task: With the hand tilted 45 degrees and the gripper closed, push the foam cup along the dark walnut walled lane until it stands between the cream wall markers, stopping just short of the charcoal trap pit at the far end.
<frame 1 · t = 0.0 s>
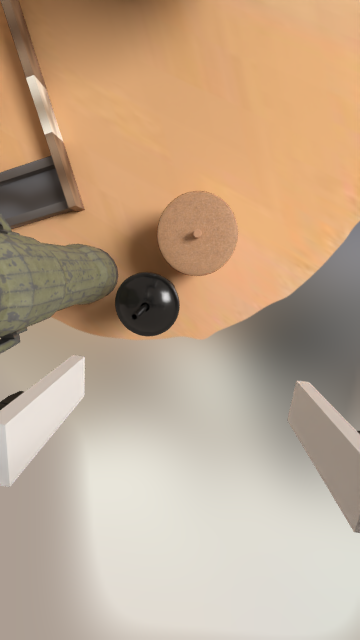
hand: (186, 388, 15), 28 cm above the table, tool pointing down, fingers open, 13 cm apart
drinking cup: (161, 291, 42), on the table
lidded jar: (196, 240, 40), on the table
thermos: (93, 273, 42), on the table
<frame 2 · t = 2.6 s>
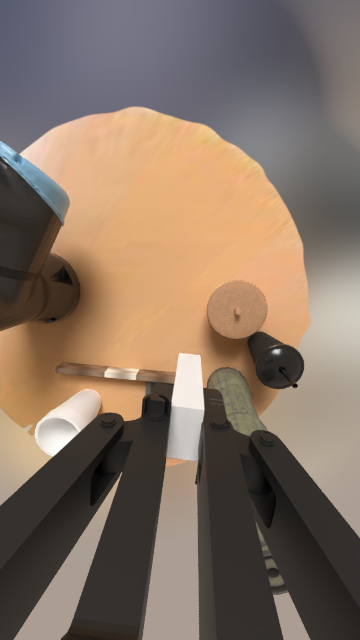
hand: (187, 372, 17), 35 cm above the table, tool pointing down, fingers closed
drinking cup: (258, 342, 53), on the table
lidded jar: (231, 304, 52), on the table
lane: (121, 404, 58), on the table
foam cup: (89, 400, 59), on the table
thermos: (225, 384, 55), on the table
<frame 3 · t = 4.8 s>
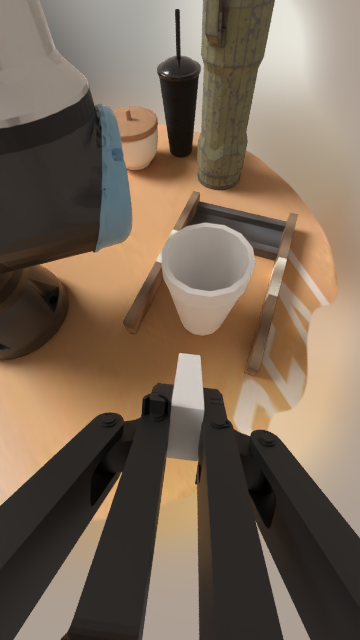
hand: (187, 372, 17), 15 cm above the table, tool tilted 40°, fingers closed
drinking cup: (180, 151, 55), on the table
lidded jar: (136, 162, 54), on the table
lane: (217, 274, 39), on the table
foam cup: (201, 316, 36), on the table
thermos: (218, 177, 51), on the table
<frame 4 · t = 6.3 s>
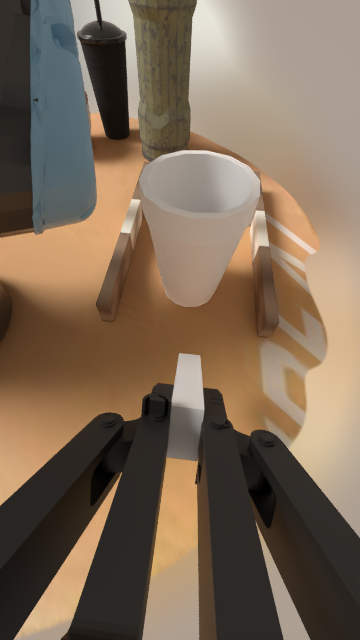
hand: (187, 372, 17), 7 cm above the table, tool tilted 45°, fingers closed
drinking cup: (117, 135, 50), on the table
lane: (194, 242, 34), on the table
foam cup: (189, 287, 30), on the table
thermos: (165, 154, 47), on the table
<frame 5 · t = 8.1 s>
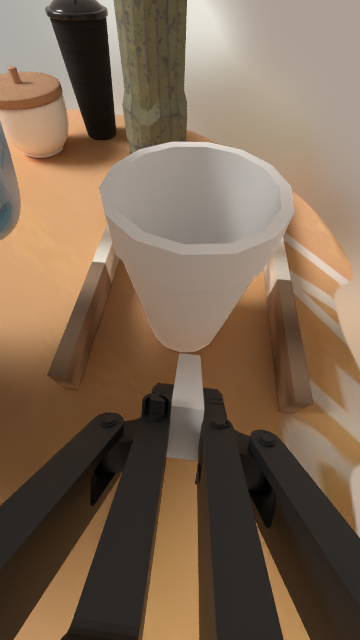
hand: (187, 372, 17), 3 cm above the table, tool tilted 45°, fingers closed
drinking cup: (102, 134, 43), on the table
lidded jar: (44, 150, 40), on the table
lane: (190, 269, 27), on the table
foam cup: (184, 323, 23), on the table, touching gripper
thermos: (157, 156, 40), on the table
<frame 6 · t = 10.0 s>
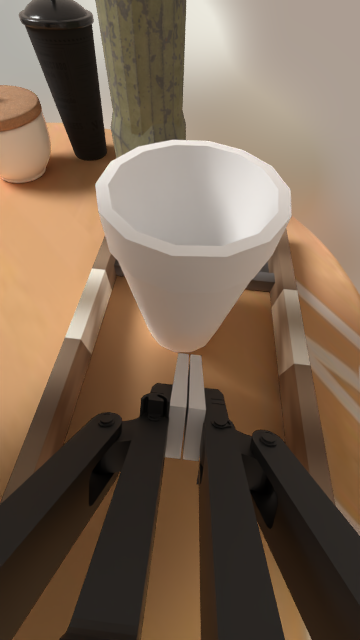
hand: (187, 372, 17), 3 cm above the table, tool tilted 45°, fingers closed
drinking cup: (91, 153, 38), on the table
lidded jar: (24, 172, 35), on the table
lane: (187, 334, 22), on the table
foam cup: (182, 322, 23), on the table, touching gripper, lane
thermos: (152, 181, 35), on the table
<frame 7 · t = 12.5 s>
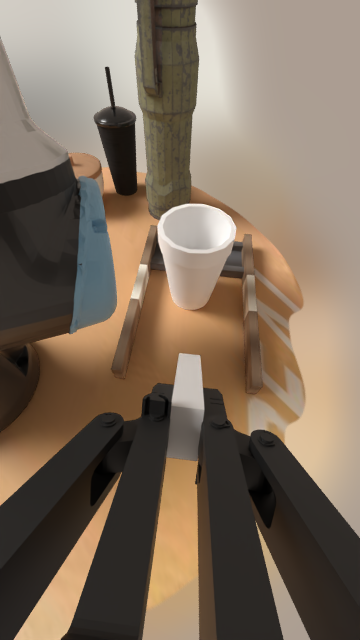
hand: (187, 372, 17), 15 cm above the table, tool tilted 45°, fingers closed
drinking cup: (126, 190, 56), on the table
lidded jar: (84, 204, 53), on the table
lane: (193, 300, 40), on the table
foam cup: (190, 295, 40), on the table
thermos: (168, 210, 53), on the table
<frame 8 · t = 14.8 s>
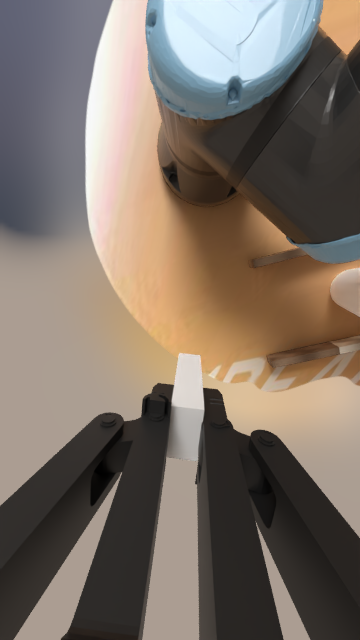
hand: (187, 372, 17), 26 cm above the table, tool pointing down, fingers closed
lane: (342, 293, 41), on the table
foam cup: (348, 288, 41), on the table
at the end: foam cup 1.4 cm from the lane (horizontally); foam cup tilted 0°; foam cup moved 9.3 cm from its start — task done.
